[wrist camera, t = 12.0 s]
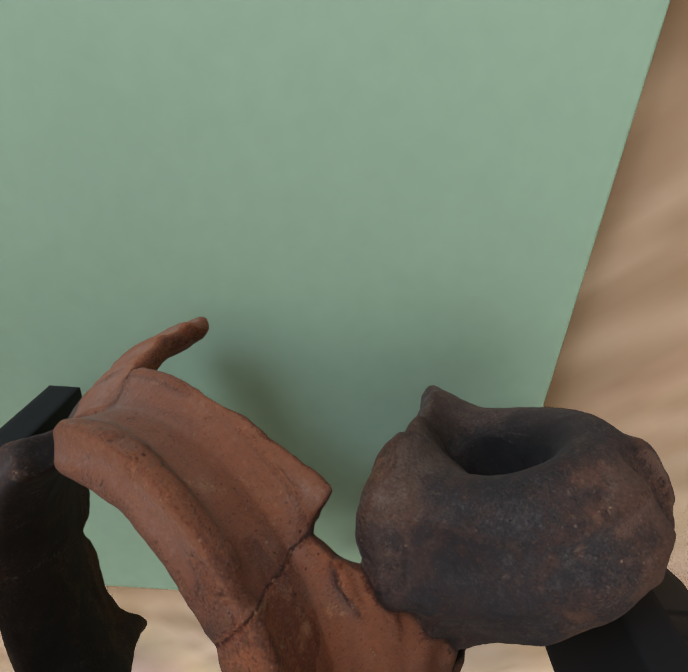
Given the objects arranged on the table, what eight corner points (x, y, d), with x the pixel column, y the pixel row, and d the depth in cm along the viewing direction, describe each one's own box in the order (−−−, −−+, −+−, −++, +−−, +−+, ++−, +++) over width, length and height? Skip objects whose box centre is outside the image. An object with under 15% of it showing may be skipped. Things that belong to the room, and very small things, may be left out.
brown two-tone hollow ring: (316, 605, 16) (84, 907, 8) (201, 363, 16) (-104, 456, 9) (724, 542, 9) (1124, 1450, 2) (511, 158, 10) (317, -48, 3)
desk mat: (-75, 559, 16) (-92, 576, 15) (-611, -473, 6) (-717, -537, 6) (475, 592, 16) (480, 612, 16) (764, -365, 7) (807, -417, 6)
